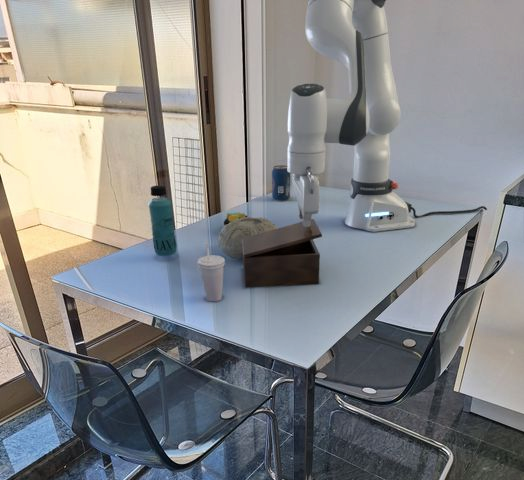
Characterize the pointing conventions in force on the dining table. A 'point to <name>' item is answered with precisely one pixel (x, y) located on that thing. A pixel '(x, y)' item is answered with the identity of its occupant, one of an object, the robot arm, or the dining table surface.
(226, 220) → the gadget
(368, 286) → the dining table surface
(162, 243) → the beverage bottle
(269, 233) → the lid
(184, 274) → the dining table surface
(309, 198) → the robot arm
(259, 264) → the chest
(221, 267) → the smoothie
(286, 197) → the soda can
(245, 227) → the decorative shell
